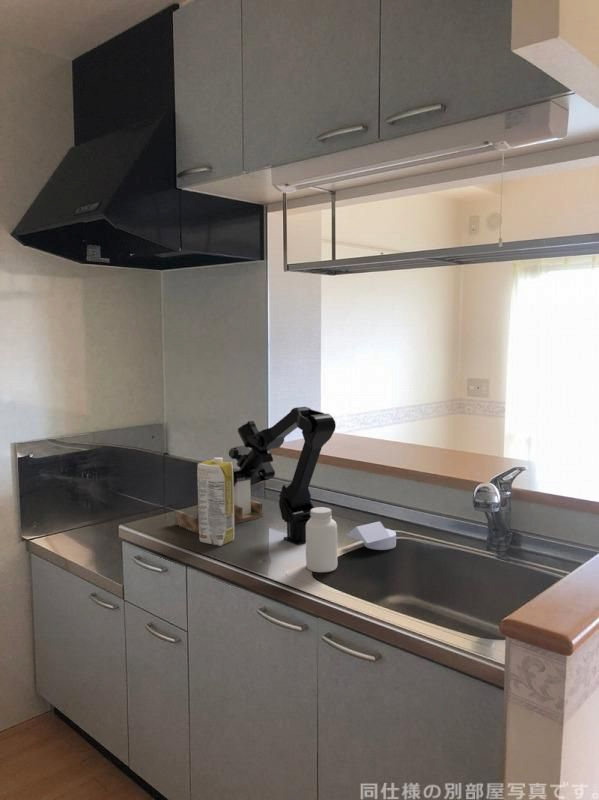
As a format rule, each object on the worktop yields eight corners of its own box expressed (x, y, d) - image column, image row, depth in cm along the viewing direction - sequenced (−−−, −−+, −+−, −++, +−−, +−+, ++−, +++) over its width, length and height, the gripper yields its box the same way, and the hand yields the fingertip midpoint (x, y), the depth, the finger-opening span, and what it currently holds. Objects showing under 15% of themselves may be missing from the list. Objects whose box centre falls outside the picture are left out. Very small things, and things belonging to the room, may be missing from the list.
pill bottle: (299, 566, 164) (299, 509, 163) (323, 559, 169) (323, 503, 168) (319, 575, 158) (319, 516, 156) (343, 568, 163) (343, 510, 161)
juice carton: (238, 539, 186) (236, 457, 183) (221, 547, 179) (219, 462, 176) (212, 534, 190) (210, 454, 188) (195, 542, 184) (192, 459, 181)
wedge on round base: (367, 555, 172) (402, 545, 180) (367, 530, 171) (402, 522, 179) (345, 546, 180) (380, 537, 187) (345, 522, 179) (381, 514, 186)
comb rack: (262, 516, 208) (262, 503, 207) (196, 533, 191) (195, 518, 191) (240, 509, 217) (240, 496, 216) (175, 524, 200) (174, 510, 200)
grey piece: (250, 513, 209) (250, 473, 207) (237, 515, 206) (236, 475, 204) (242, 509, 213) (242, 470, 211) (229, 512, 210) (228, 473, 208)
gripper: (269, 435, 209) (251, 463, 219) (219, 442, 198) (202, 471, 208) (284, 463, 204) (264, 490, 214) (233, 471, 193) (215, 500, 202)
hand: (237, 487), depth 210 cm, fingers open, 9 cm apart
